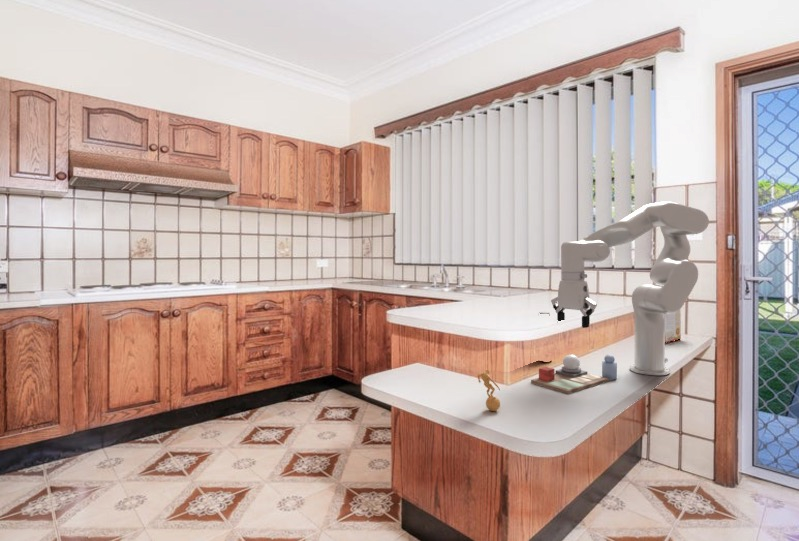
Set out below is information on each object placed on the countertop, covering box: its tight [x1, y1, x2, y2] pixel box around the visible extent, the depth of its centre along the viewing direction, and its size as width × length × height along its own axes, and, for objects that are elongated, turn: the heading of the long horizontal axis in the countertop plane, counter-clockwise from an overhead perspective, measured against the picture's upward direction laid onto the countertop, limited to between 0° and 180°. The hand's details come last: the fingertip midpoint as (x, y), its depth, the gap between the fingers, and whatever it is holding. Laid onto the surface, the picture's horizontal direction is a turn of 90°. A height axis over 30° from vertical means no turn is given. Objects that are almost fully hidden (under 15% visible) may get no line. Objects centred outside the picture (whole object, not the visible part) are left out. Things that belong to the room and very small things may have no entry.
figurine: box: [477, 369, 501, 412], centre depth 121 cm, size 8×6×12 cm
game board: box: [530, 366, 609, 395], centre depth 146 cm, size 22×14×5 cm, turn 124°
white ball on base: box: [561, 354, 582, 373], centre depth 152 cm, size 6×6×6 cm
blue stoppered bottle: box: [601, 354, 618, 381], centre depth 150 cm, size 5×5×8 cm
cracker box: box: [662, 308, 682, 343], centre depth 207 cm, size 14×6×21 cm, turn 119°
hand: (573, 325), depth 152 cm, fingers open, 9 cm apart
